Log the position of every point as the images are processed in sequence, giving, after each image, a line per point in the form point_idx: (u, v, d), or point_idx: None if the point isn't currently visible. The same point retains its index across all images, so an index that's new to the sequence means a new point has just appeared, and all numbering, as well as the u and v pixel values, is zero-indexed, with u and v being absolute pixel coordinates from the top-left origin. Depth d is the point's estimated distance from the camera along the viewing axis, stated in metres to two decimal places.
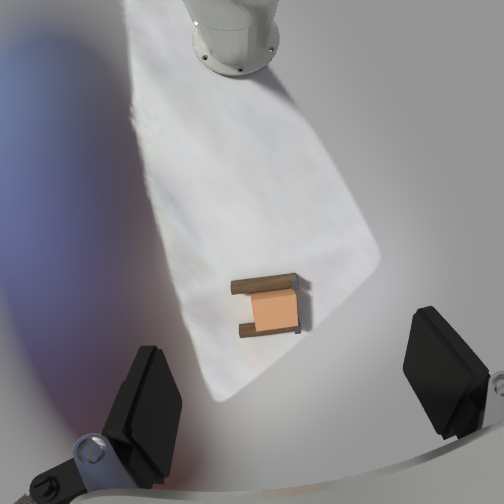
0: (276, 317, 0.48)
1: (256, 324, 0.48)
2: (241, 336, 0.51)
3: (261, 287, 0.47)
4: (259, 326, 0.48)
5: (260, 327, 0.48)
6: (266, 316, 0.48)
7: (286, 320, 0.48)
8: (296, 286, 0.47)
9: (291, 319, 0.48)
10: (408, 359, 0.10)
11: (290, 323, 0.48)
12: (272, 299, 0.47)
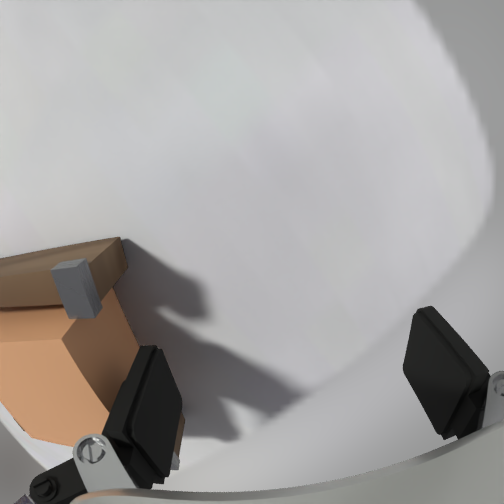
0: (52, 417, 0.09)
1: (17, 420, 0.09)
2: None
3: None
4: (28, 428, 0.09)
5: (33, 432, 0.09)
6: (22, 405, 0.08)
7: None
8: (81, 302, 0.07)
9: None
10: (408, 358, 0.10)
11: None
12: None
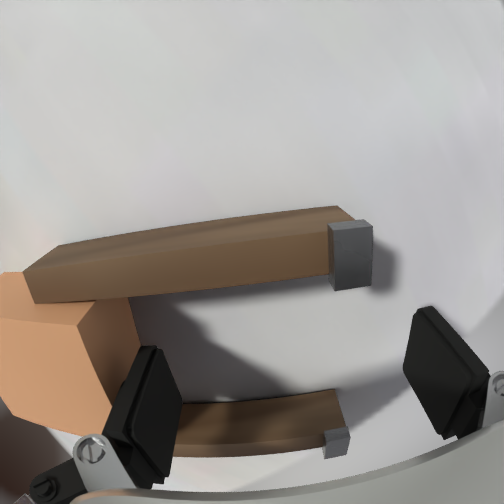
0: (44, 399, 0.08)
1: (2, 396, 0.09)
2: None
3: (148, 271, 0.08)
4: (12, 406, 0.09)
5: (17, 410, 0.09)
6: (12, 383, 0.08)
7: (83, 420, 0.09)
8: (362, 268, 0.07)
9: (97, 420, 0.09)
10: (408, 358, 0.10)
11: None
12: None
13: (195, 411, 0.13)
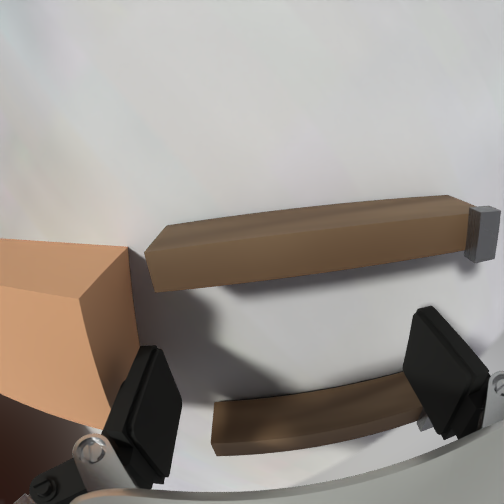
0: (30, 376, 0.08)
1: None
2: (222, 452, 0.11)
3: (327, 247, 0.08)
4: None
5: None
6: None
7: (69, 402, 0.08)
8: (491, 244, 0.07)
9: (84, 403, 0.08)
10: (408, 358, 0.10)
11: (89, 418, 0.09)
12: None
13: (296, 402, 0.12)
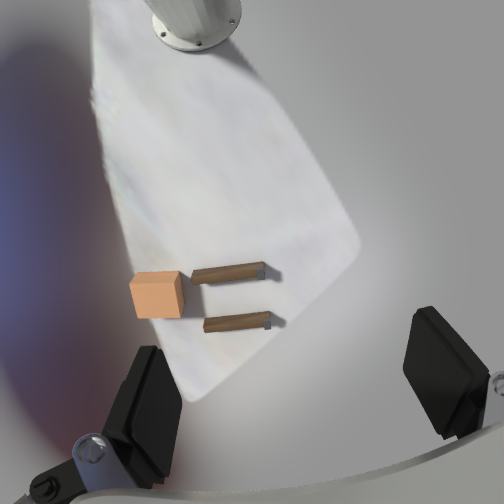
0: (156, 305, 0.43)
1: (137, 310, 0.43)
2: (206, 331, 0.46)
3: (223, 276, 0.43)
4: (140, 313, 0.43)
5: (141, 314, 0.44)
6: (145, 303, 0.43)
7: (167, 310, 0.43)
8: (262, 276, 0.42)
9: (171, 309, 0.43)
10: (408, 358, 0.10)
11: (172, 314, 0.44)
12: (149, 284, 0.42)
13: (227, 317, 0.48)
